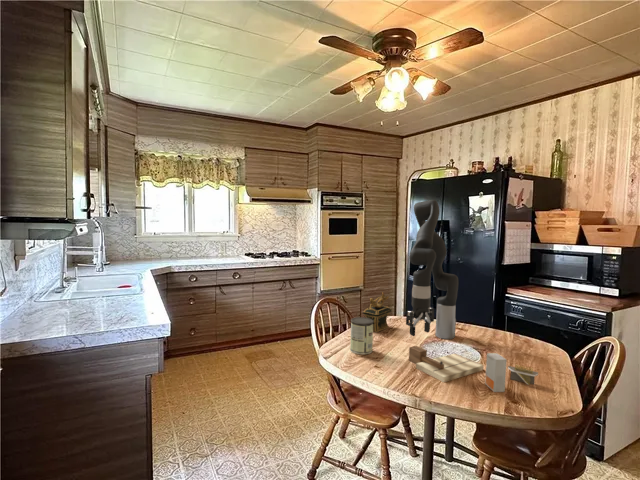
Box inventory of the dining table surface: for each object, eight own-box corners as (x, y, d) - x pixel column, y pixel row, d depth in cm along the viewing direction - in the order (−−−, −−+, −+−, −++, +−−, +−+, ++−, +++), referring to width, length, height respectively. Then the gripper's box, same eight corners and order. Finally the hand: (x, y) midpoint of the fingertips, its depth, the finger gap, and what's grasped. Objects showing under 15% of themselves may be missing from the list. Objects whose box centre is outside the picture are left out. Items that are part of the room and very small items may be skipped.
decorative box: (377, 333, 187) (378, 297, 186) (361, 329, 193) (362, 294, 192) (394, 325, 203) (396, 291, 202) (379, 322, 209) (381, 289, 208)
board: (454, 357, 157) (454, 353, 157) (483, 369, 145) (483, 364, 145) (415, 368, 145) (416, 363, 145) (443, 382, 133) (444, 376, 133)
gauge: (414, 358, 155) (414, 345, 155) (445, 373, 141) (446, 358, 141) (407, 360, 153) (408, 346, 153) (438, 375, 139) (439, 360, 138)
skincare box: (484, 384, 132) (486, 352, 132) (495, 384, 133) (497, 352, 132) (493, 392, 126) (495, 359, 125) (505, 392, 127) (507, 359, 126)
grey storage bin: (550, 397, 125) (551, 378, 125) (494, 383, 134) (495, 366, 134) (549, 384, 135) (550, 367, 135) (497, 372, 145) (498, 356, 144)
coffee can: (352, 345, 169) (353, 316, 169) (374, 348, 166) (375, 318, 165) (347, 352, 160) (348, 321, 159) (370, 356, 156) (371, 324, 156)
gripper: (426, 292, 156) (424, 328, 157) (402, 295, 148) (401, 333, 149) (439, 295, 149) (438, 333, 151) (415, 299, 142) (414, 339, 143)
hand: (419, 333), depth 150 cm, fingers open, 8 cm apart
